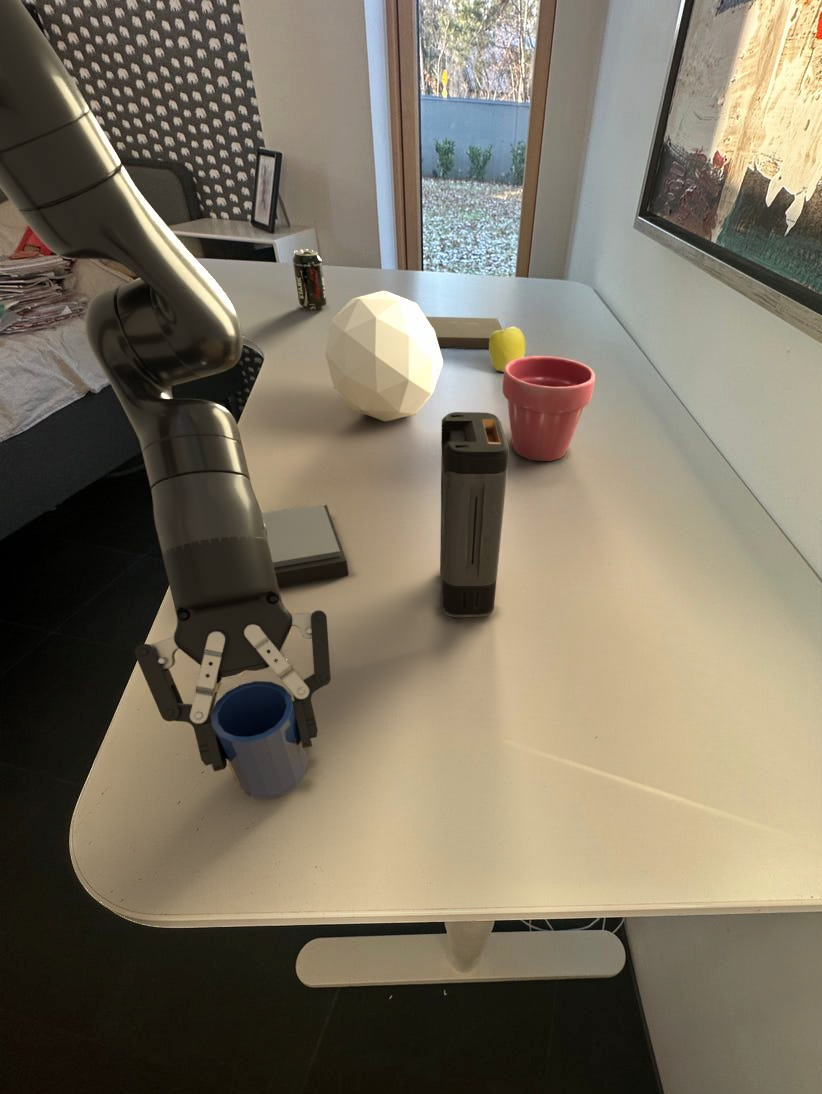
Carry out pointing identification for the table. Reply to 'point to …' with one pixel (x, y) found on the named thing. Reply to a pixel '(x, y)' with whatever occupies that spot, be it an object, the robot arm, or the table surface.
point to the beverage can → (309, 279)
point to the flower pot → (545, 403)
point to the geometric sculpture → (383, 356)
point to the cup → (260, 739)
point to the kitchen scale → (304, 545)
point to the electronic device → (471, 511)
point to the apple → (506, 347)
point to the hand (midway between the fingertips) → (265, 756)
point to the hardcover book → (464, 331)
